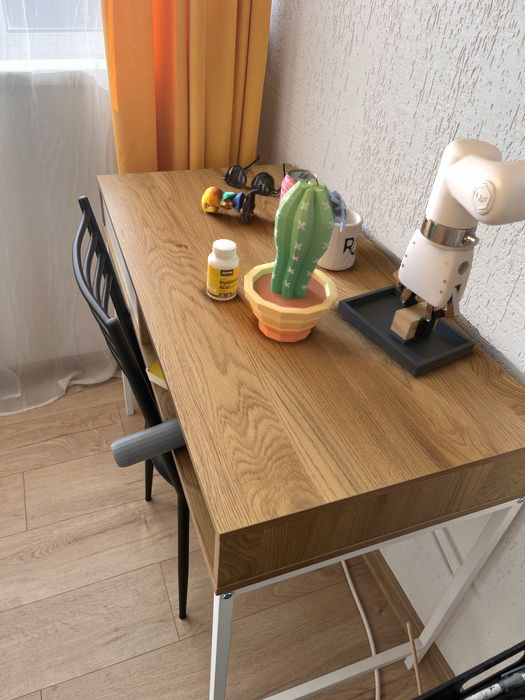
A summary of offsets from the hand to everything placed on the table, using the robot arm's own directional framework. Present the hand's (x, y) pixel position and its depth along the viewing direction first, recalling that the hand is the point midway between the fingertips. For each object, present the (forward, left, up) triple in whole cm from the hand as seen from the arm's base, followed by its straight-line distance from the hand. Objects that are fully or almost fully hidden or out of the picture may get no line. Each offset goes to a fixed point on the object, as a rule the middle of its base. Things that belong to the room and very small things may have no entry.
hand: (413, 327), depth 89 cm
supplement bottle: (+25, +23, -2) cm, 34 cm away
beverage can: (+42, -5, -2) cm, 42 cm away
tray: (+2, 0, -2) cm, 3 cm away
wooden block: (0, 0, -1) cm, 1 cm away
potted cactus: (+12, +18, -2) cm, 22 cm away
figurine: (+52, +6, -2) cm, 52 cm away
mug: (+27, -5, -2) cm, 27 cm away
